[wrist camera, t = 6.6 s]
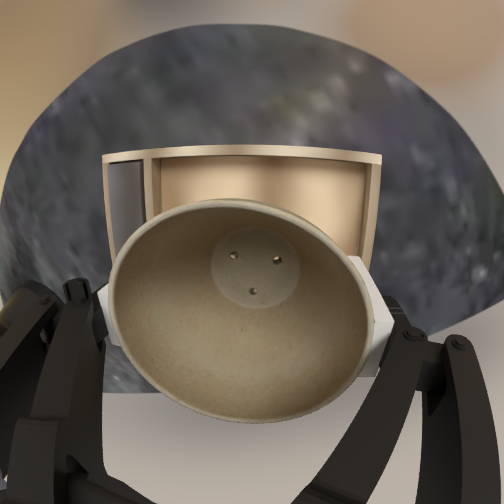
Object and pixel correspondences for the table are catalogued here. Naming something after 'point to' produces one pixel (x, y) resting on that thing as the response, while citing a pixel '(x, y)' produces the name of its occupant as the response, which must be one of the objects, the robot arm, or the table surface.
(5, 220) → the table surface
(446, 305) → the table surface
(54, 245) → the table surface
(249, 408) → the flower pot
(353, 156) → the wooden tray
